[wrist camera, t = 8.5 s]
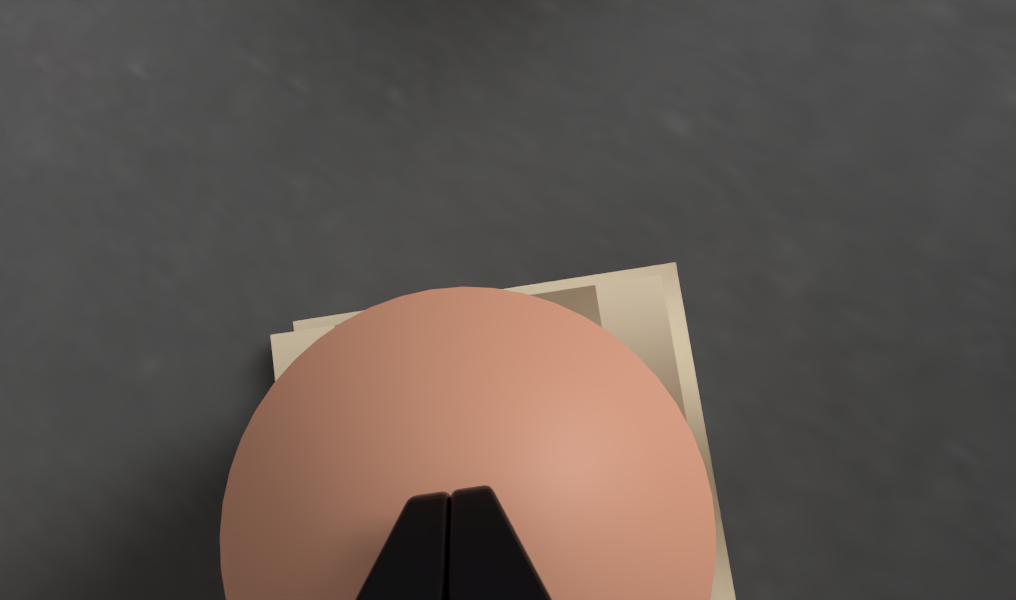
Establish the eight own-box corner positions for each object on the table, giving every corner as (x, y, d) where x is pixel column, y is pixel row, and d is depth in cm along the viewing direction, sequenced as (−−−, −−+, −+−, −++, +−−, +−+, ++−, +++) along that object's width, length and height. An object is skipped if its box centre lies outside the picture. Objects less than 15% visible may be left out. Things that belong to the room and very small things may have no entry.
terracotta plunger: (679, 631, 15) (759, 761, 9) (372, 673, 16) (246, 830, 9) (628, 324, 16) (668, 252, 10) (336, 368, 16) (198, 325, 10)
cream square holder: (738, 656, 19) (819, 756, 13) (349, 710, 19) (253, 833, 13) (670, 270, 20) (715, 200, 14) (306, 327, 20) (200, 281, 14)
